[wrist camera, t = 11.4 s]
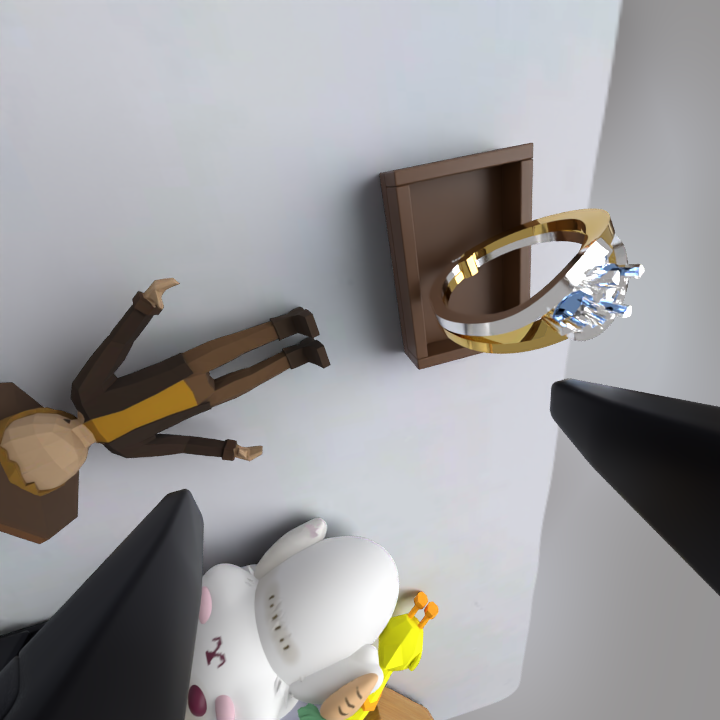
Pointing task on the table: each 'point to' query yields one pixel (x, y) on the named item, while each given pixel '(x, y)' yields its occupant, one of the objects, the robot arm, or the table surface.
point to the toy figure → (399, 647)
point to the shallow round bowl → (292, 717)
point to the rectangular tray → (456, 240)
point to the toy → (129, 411)
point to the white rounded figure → (293, 629)
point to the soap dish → (397, 708)
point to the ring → (557, 299)
